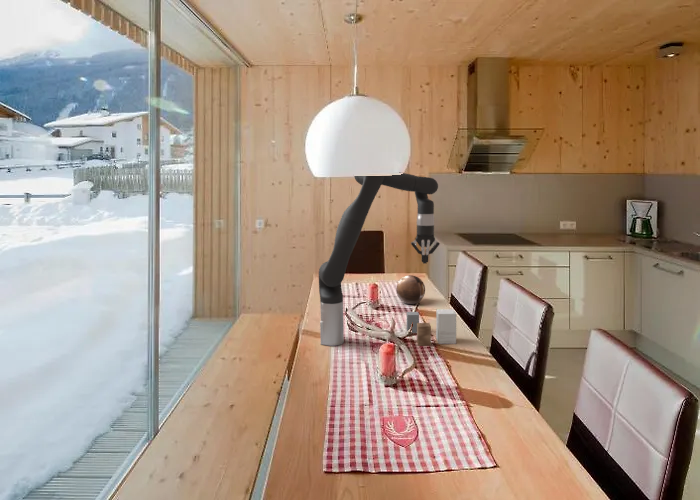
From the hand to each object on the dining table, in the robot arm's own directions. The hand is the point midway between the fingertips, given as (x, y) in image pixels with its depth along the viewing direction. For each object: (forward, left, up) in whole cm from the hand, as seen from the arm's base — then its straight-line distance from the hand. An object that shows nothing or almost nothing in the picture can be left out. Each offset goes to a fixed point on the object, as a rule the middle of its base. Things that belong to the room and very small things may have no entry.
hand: (424, 263), depth 233 cm
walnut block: (-3, -24, -29) cm, 38 cm away
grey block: (-6, -7, -29) cm, 30 cm away
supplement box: (+7, -21, -29) cm, 36 cm away
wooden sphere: (-3, +41, -29) cm, 50 cm away
